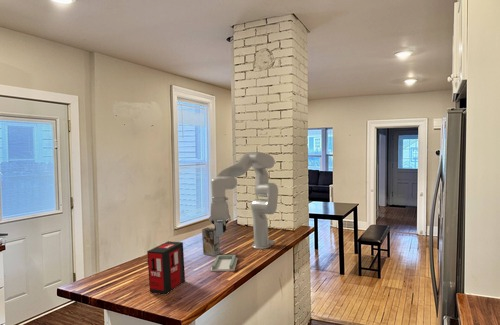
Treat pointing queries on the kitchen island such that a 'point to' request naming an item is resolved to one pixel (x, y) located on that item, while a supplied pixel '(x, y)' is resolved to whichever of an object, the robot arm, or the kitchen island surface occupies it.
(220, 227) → the pale grey cuboid block
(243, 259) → the kitchen island surface
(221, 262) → the grey tray
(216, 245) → the coffee box
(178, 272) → the cleaning product box
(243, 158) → the robot arm
